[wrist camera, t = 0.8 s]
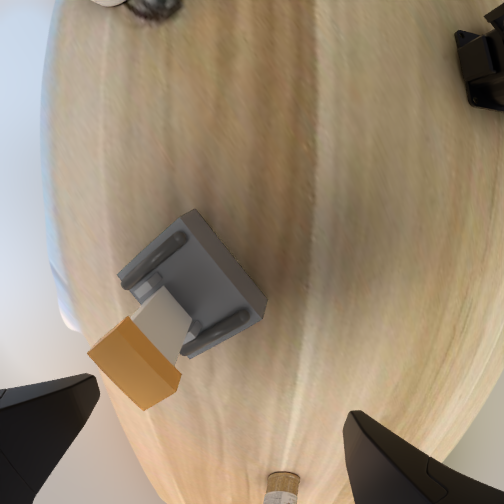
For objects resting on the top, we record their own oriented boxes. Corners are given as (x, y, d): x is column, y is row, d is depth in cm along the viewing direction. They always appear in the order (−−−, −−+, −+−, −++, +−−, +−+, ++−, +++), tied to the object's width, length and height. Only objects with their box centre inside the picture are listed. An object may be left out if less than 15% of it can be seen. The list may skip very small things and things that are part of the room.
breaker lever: (162, 278, 21) (115, 328, 12) (199, 320, 21) (176, 391, 12) (140, 297, 21) (86, 353, 12) (175, 338, 21) (143, 411, 13)
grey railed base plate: (195, 208, 22) (169, 222, 18) (267, 299, 24) (258, 331, 19) (135, 261, 25) (105, 283, 20) (201, 339, 26) (183, 371, 22)
